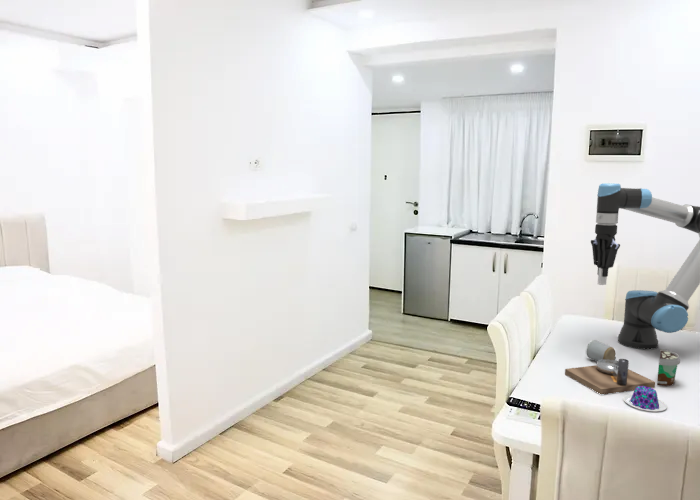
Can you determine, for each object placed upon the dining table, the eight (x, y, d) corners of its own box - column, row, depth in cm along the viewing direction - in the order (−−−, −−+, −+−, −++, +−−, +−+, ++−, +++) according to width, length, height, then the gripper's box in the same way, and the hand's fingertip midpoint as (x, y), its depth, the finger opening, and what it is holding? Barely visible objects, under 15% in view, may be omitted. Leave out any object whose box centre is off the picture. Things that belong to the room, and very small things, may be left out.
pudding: (620, 406, 162) (621, 390, 161) (626, 393, 171) (627, 378, 171) (664, 417, 155) (666, 400, 154) (668, 402, 164) (670, 387, 164)
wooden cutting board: (614, 368, 192) (615, 362, 192) (654, 387, 175) (655, 381, 175) (564, 374, 187) (565, 368, 186) (601, 394, 169) (601, 388, 169)
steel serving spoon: (593, 363, 190) (595, 342, 189) (623, 365, 188) (624, 344, 187) (606, 383, 172) (608, 360, 171) (639, 386, 170) (641, 363, 169)
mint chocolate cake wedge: (678, 390, 173) (680, 362, 171) (656, 386, 176) (659, 358, 174) (677, 378, 183) (680, 351, 182) (657, 374, 186) (660, 348, 185)
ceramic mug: (604, 366, 194) (606, 347, 192) (585, 359, 201) (586, 341, 200) (621, 362, 199) (623, 343, 198) (602, 355, 206) (603, 337, 205)
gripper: (586, 222, 201) (582, 281, 205) (611, 226, 189) (606, 288, 193) (602, 222, 203) (597, 280, 207) (627, 225, 191) (622, 287, 195)
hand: (601, 284), depth 200 cm, fingers closed
